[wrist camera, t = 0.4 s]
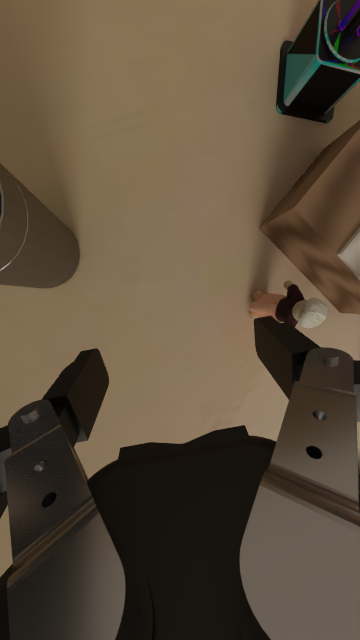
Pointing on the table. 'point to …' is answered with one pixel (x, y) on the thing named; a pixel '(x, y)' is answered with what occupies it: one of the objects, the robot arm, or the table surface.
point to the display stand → (325, 222)
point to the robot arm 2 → (320, 61)
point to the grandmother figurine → (289, 307)
